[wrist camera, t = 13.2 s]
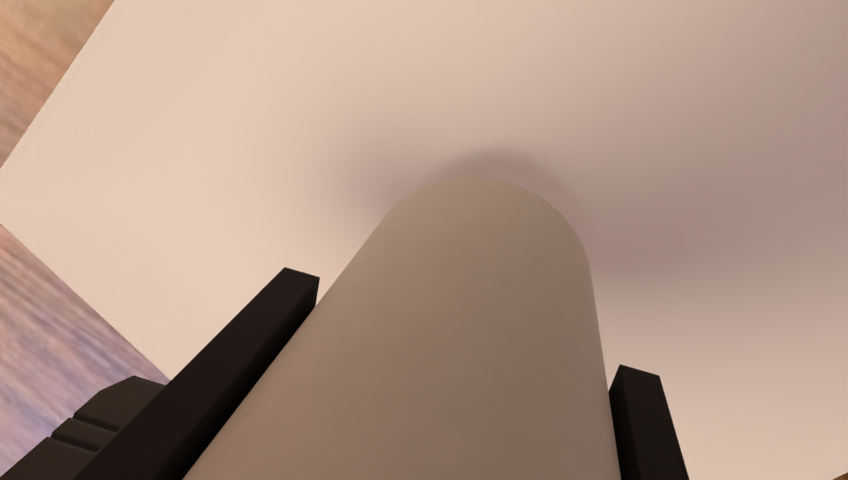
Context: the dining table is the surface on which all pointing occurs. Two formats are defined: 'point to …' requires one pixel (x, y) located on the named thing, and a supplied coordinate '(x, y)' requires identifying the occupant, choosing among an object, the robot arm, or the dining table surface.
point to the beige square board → (478, 157)
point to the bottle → (438, 356)
